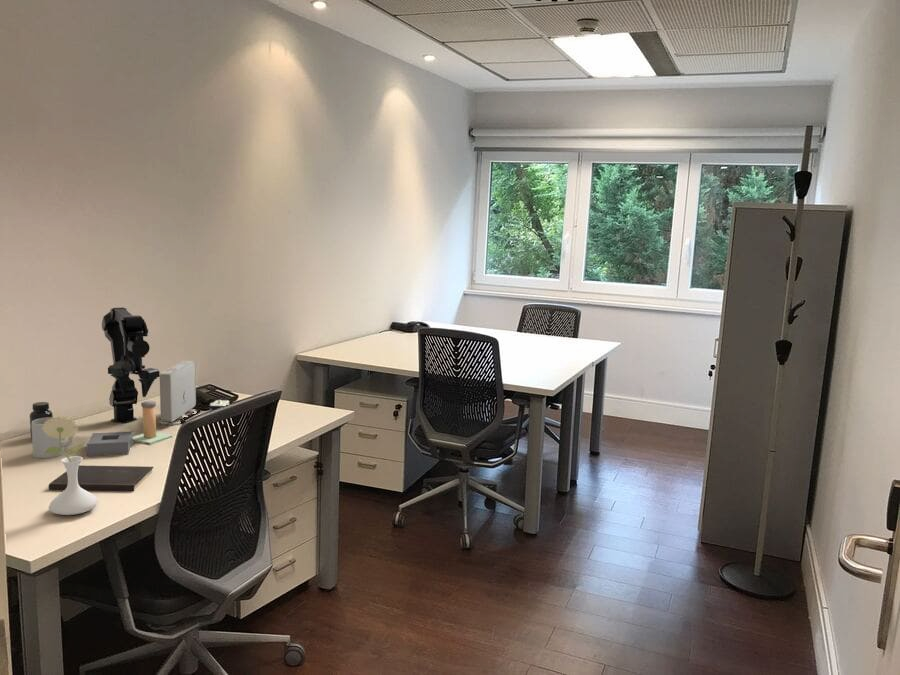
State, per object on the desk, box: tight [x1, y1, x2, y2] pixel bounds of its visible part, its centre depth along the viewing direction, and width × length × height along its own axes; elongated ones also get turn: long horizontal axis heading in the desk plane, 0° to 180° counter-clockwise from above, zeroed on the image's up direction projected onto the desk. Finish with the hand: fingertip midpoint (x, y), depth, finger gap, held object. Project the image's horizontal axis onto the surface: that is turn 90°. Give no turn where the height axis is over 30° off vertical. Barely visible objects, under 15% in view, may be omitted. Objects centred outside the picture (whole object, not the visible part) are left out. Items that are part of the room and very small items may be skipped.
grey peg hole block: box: [86, 431, 134, 457], centre depth 236 cm, size 12×12×4 cm
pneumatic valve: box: [208, 399, 230, 411], centre depth 259 cm, size 6×12×12 cm, turn 3°
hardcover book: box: [48, 464, 155, 492], centre depth 209 cm, size 16×23×2 cm
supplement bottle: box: [29, 401, 54, 440], centre depth 245 cm, size 7×7×12 cm
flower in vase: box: [42, 416, 99, 516], centre depth 186 cm, size 13×11×25 cm
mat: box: [133, 431, 173, 445], centre depth 250 cm, size 10×10×1 cm
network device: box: [159, 360, 198, 426], centre depth 275 cm, size 26×9×20 cm, turn 179°
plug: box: [140, 400, 157, 438], centre depth 249 cm, size 5×5×12 cm
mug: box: [31, 416, 74, 459], centre depth 229 cm, size 12×8×11 cm
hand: (134, 395), depth 255 cm, fingers open, 9 cm apart
